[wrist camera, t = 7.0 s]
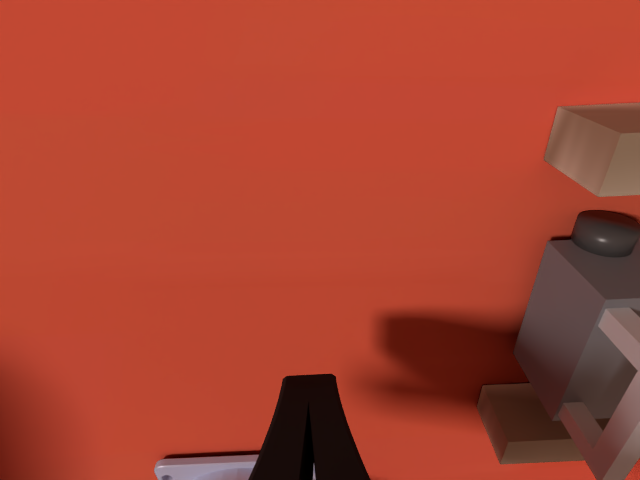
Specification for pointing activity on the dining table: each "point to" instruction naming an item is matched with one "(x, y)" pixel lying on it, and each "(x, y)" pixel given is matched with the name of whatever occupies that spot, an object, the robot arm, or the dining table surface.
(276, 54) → the dining table surface
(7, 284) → the dining table surface
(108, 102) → the dining table surface
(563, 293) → the grey box with knobs
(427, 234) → the dining table surface
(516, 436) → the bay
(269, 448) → the robot arm
